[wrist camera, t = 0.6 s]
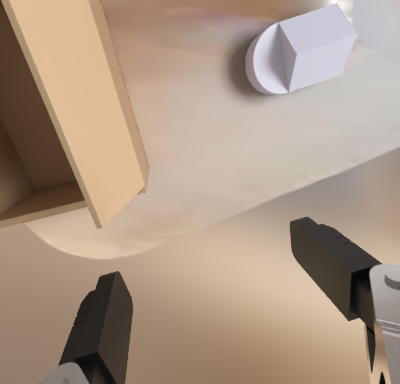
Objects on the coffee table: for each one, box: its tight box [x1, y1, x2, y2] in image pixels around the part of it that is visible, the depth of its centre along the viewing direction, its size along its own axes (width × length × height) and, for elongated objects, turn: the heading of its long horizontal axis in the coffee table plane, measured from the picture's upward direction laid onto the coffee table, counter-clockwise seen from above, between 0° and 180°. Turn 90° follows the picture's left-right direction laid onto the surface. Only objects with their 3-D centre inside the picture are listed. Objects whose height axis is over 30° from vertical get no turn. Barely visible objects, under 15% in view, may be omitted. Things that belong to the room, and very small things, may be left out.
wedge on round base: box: [245, 4, 358, 95], centre depth 33 cm, size 9×7×13 cm
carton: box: [0, 0, 149, 228], centre depth 28 cm, size 24×18×12 cm
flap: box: [1, 0, 145, 228], centre depth 19 cm, size 22×9×1 cm
